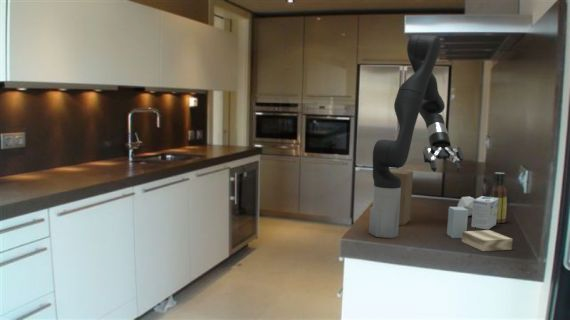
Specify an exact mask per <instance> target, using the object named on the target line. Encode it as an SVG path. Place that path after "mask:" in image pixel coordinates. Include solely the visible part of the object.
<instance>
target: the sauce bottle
mask: <svg viewBox="0 0 570 320" xmlns="http://www.w3.org/2000/svg"><path fill="white" fill-rule="evenodd" d="M493 177H494V178H493V179H494V180H493V185H492V187H491V189H490V194H489V197H493V198H498V208H497V219H496V224H504V223H506V219H507V205H508V203H507V202H508V195H507V194H508V190H507V187H506V185H505V178H506V173H505V172H499V171H498V172H497V171H496V172H494V174H493Z"/></svg>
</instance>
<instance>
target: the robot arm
mask: <svg viewBox="0 0 570 320" xmlns="http://www.w3.org/2000/svg"><path fill="white" fill-rule="evenodd" d="M441 47H442V41H441V38H440V37H439V36H438V35H433V34H413V35H411V36H410V37H409V39H408V41H407V46H406V52H407V53H406V54H407V57H408V60H409V62H410V66H411V68H412V70H413V74H412V75H410V76H409V77H408V78H407V79H406V80H405V81H403V83H402V84H401V85H400V87H399V89H398V90H397V93H396V97H395V100H394V105H393V109H394V113H395V116H396V119H397V122H398V126H399V127H398V128H399V130H398V135H397V138H396V140H392V139H379V140H377V141H376V142H375V144H374V146H373V151H372V179H373V193H372V196H373V197H372V206H370V208H369V222H368V223H369V226H368V228H369V229H368V233H369V234H371V235H372V236H374V237H375V238H384V239H385V238H387V239H388V238H389V239H390V238H397V237H398V236H399V226H400V225H399V209H400V193H401V180H400V178H398V177H397V176H395V175H393V174H392V173H391V171H390V170H389V169H390V168H392V169H401V168H402V167H404V166H405V164H406V162H407V161H408V157H409V153H410V150H411V144H412V138H413V135H414V130H415V127H416V123H417V120H418V117H419V115H420V116H421V118H422V119H423V121H424V122H425V126H426V130H427V132H426V133H427V138H428V142H429V147H428V146H424V148H423V150H422V155H423V161H424V163H426V164H427V163H428V164H430V170H431V171H432V172H437V163H436V160H437V159H438V160H448V161H449V162H452V164H453V167H454V169H455V172H456V173H459V171H461V164H462V163H463V161H464V159H465V158H464V155H463V153H462V149H461V147H459V146H457V147H456V148H453V147H452V145H451V140H450V136H449V132H448V129H447V127H446V124H445V119H444V117H443V115H442V114H441V113H443V112H444V110H445V107H446V106H445V105H446V104H445V102H444V100H443V98H442V97H441V94H440V93H439V88H438V82H437V78H436V76H435V75H434V74H433V71H434V68H435V65H436V63H437V60H438V58H439V55H440V52H441ZM430 153H431V154H432V156H431V157H430V155H429V154H430Z"/></svg>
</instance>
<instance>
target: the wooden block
mask: <svg viewBox="0 0 570 320" xmlns="http://www.w3.org/2000/svg"><path fill="white" fill-rule="evenodd" d="M389 170H390V171H391V173H392V174H393V175H395V176H397V177H398V178H400V180H401V193H400V209H399V226H403V227H404V225H406V224H408V223H409V222H410V220H411V210H412V209H411V208H412V197H413V196H412V192H413V180H414V177H413V176H414V170H407V169H399V168H389Z"/></svg>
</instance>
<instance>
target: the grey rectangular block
mask: <svg viewBox="0 0 570 320" xmlns="http://www.w3.org/2000/svg"><path fill="white" fill-rule="evenodd" d="M447 215H448V216H447V225H446V226H447V227H446V228H447V229H446V235H447V236H449V237H450V238H451V239H462V231H467V230H468V220H469V219H468V218H469V216H468V210H467V209H465V208H464V207H457V206H448V213H447Z"/></svg>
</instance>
